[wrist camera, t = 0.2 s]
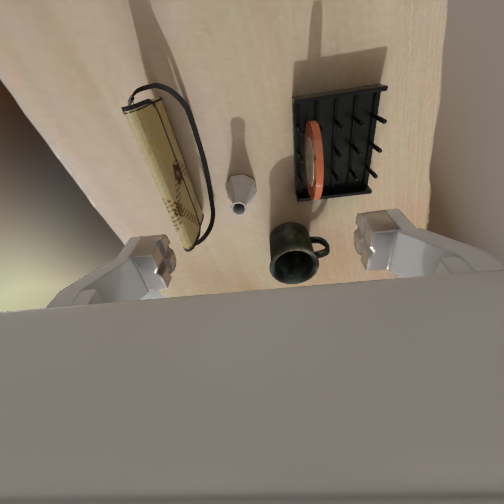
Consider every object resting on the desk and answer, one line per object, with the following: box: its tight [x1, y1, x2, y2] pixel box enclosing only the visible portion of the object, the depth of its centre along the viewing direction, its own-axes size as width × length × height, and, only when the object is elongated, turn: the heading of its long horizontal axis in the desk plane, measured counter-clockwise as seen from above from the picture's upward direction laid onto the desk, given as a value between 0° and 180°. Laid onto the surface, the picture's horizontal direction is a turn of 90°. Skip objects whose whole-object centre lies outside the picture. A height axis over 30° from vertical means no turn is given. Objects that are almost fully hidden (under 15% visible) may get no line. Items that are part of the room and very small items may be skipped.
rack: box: [292, 84, 388, 202], centre depth 52 cm, size 20×16×7 cm
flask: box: [226, 174, 256, 216], centre depth 57 cm, size 7×7×10 cm
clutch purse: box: [122, 83, 215, 252], centre depth 51 cm, size 30×7×15 cm, turn 11°
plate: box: [304, 120, 324, 200], centre depth 48 cm, size 14×1×14 cm, turn 8°
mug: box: [270, 223, 330, 284], centre depth 64 cm, size 11×15×12 cm
